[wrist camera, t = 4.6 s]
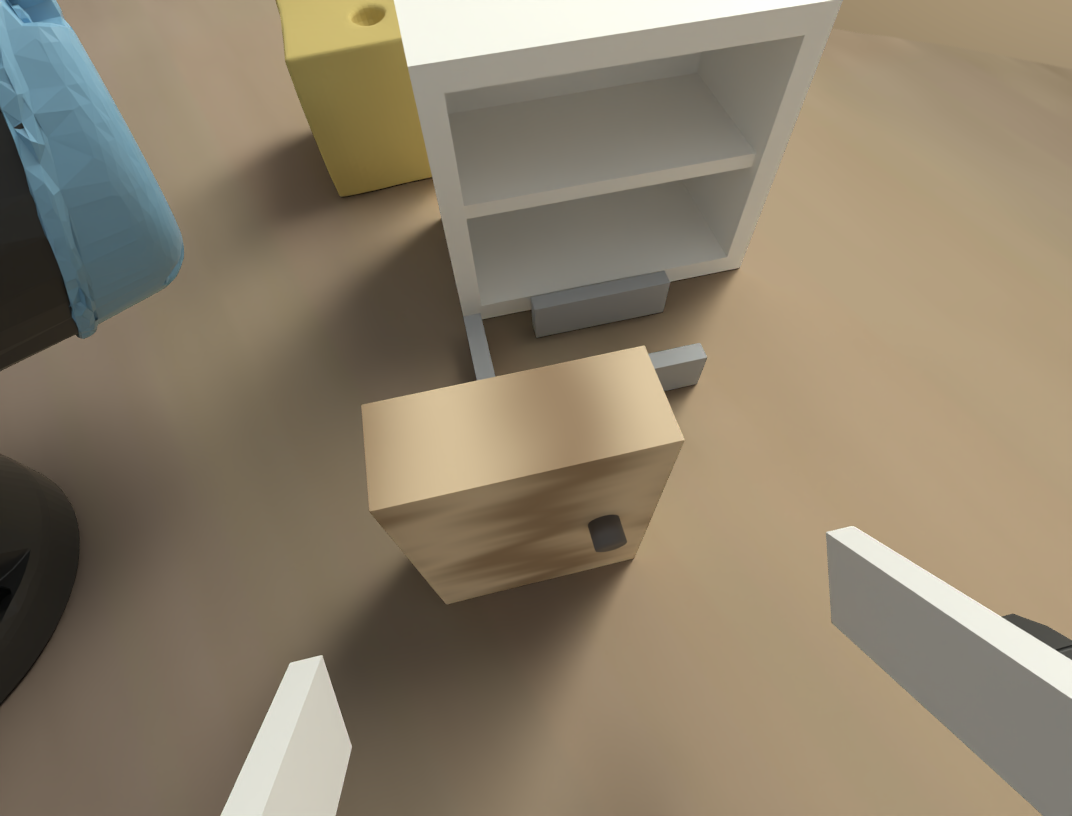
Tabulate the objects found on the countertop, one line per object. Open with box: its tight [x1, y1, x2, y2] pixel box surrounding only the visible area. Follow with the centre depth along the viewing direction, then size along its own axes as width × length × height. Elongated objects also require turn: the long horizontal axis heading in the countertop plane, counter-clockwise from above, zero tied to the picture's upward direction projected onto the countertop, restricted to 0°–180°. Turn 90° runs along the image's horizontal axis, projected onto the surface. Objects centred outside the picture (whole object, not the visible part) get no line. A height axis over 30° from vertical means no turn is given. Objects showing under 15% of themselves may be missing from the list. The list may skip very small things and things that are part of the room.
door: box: [361, 345, 685, 605], centre depth 21 cm, size 9×4×12 cm, turn 103°
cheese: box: [276, 0, 432, 197], centre depth 39 cm, size 10×11×10 cm
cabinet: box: [394, 0, 843, 391], centre depth 29 cm, size 18×18×15 cm
